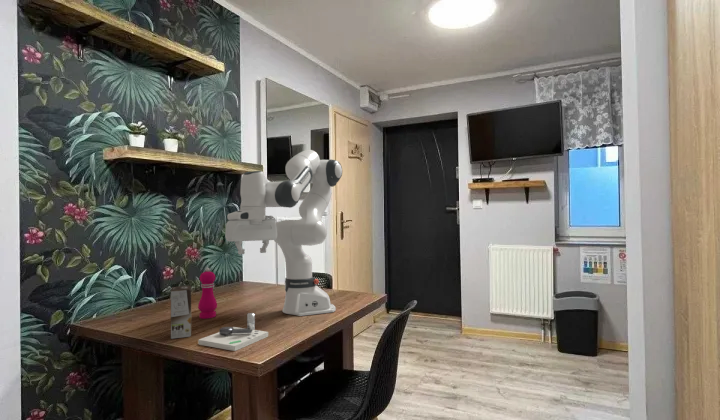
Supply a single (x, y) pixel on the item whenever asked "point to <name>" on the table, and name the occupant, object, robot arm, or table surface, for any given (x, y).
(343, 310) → the table surface
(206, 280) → the pepper mill
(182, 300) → the coffee box
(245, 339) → the dial plate
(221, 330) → the crank
